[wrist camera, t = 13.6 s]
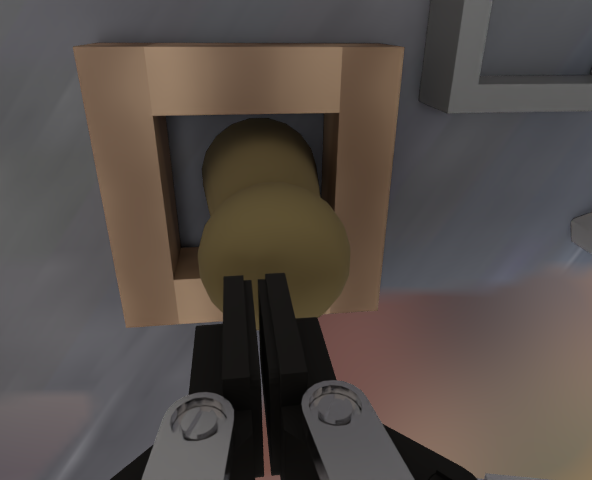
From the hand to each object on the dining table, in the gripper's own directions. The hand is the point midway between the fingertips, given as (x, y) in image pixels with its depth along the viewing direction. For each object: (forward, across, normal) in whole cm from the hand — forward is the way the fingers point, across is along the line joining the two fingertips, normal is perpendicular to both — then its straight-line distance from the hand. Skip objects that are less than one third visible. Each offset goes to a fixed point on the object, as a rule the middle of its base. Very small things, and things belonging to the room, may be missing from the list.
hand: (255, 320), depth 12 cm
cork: (+13, -1, 0) cm, 13 cm away
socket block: (+13, 0, 0) cm, 13 cm away
